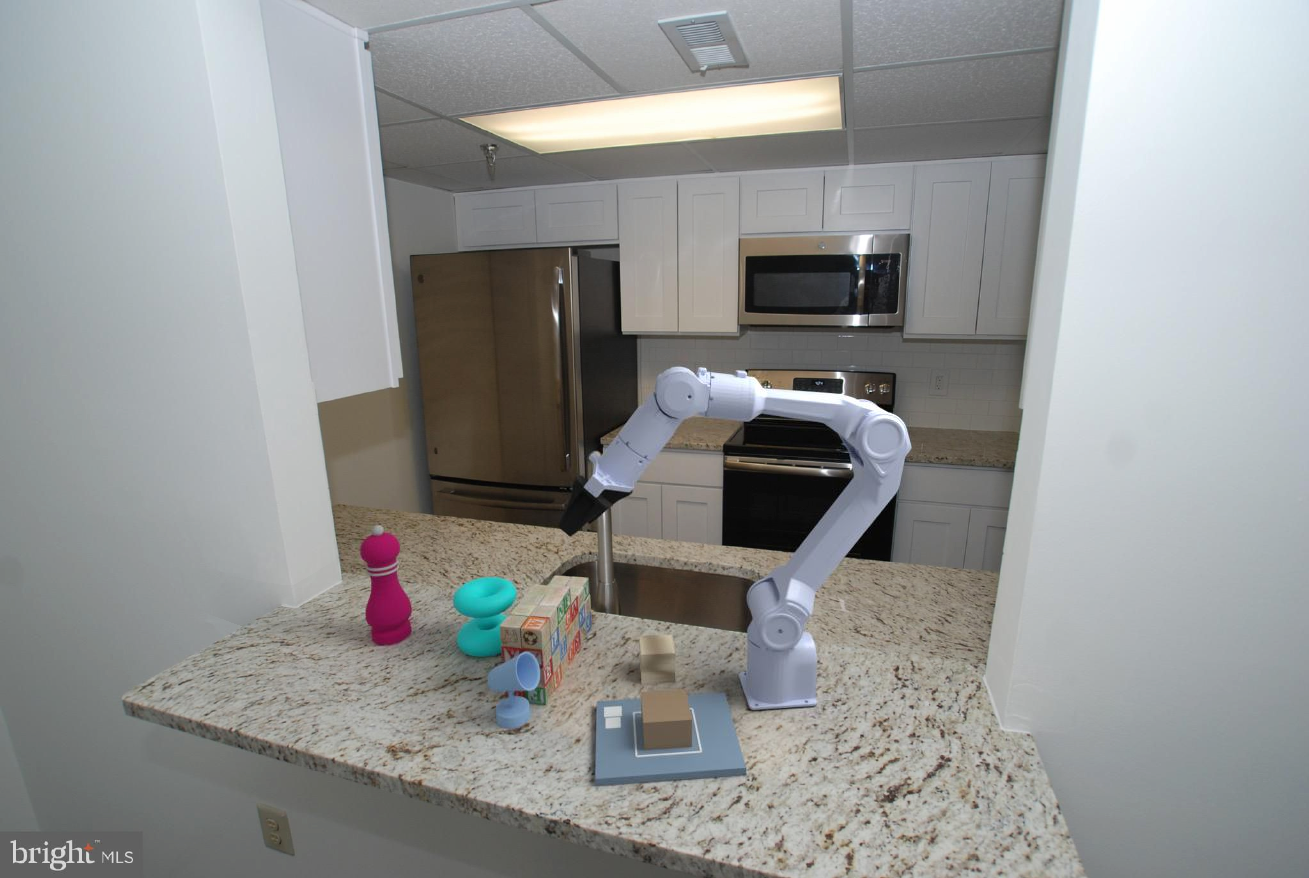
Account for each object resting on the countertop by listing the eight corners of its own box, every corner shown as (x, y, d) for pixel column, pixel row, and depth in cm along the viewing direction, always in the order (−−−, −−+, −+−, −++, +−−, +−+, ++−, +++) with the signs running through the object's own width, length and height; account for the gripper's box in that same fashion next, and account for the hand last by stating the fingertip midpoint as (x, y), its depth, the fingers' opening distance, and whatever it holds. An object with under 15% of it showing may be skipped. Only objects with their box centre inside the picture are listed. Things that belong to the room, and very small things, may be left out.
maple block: (671, 662, 97) (671, 634, 96) (675, 682, 92) (675, 652, 91) (639, 664, 96) (639, 635, 95) (641, 684, 92) (641, 654, 90)
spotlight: (547, 710, 86) (503, 701, 88) (542, 646, 84) (497, 639, 86) (530, 734, 82) (484, 724, 84) (525, 668, 79) (477, 659, 81)
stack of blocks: (558, 623, 109) (554, 558, 106) (592, 626, 108) (589, 560, 104) (505, 702, 89) (498, 624, 86) (546, 707, 87) (541, 629, 84)
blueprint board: (724, 698, 88) (724, 667, 87) (746, 774, 75) (746, 739, 73) (597, 707, 87) (595, 675, 86) (595, 785, 73) (593, 750, 72)
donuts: (454, 577, 104) (515, 570, 106) (460, 631, 107) (519, 623, 109) (449, 607, 95) (516, 598, 97) (455, 664, 97) (521, 655, 99)
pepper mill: (404, 647, 102) (389, 534, 97) (361, 647, 102) (343, 534, 97) (421, 623, 109) (408, 516, 104) (380, 624, 109) (365, 517, 104)
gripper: (627, 424, 88) (571, 496, 91) (595, 430, 74) (530, 516, 77) (665, 455, 87) (608, 527, 90) (640, 468, 73) (573, 553, 76)
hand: (575, 524), depth 83 cm, fingers open, 7 cm apart
